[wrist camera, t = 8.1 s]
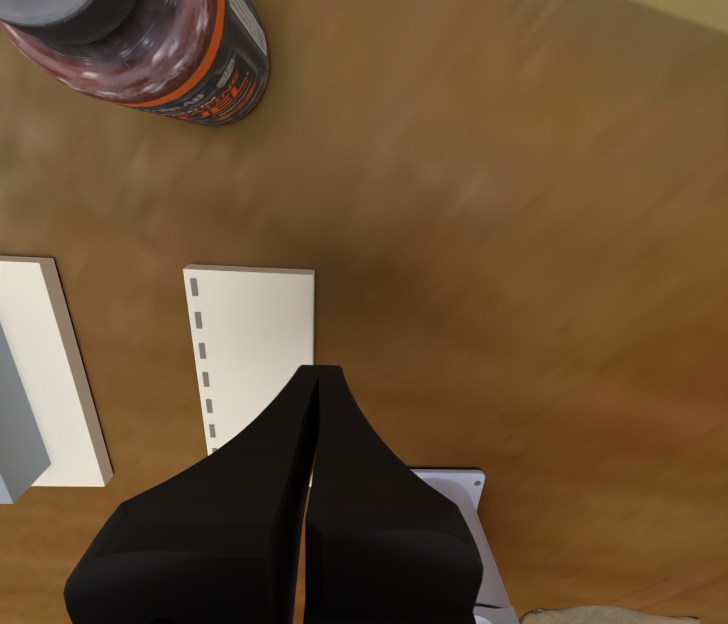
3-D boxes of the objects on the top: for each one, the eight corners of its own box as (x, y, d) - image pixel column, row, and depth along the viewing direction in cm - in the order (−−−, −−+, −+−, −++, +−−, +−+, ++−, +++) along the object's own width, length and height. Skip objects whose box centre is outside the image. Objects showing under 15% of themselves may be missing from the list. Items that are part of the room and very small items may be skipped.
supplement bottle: (199, 152, 18) (5, 143, 8) (111, 25, 16) (-319, -220, 6) (298, 85, 17) (227, -27, 7) (219, -60, 15) (-59, -538, 5)
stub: (113, 474, 26) (74, 526, 22) (40, 474, 26) (-12, 526, 22) (53, 257, 20) (-14, 280, 16) (-45, 253, 19) (-136, 275, 16)
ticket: (312, 475, 27) (311, 487, 26) (217, 474, 27) (211, 487, 26) (314, 270, 21) (313, 275, 20) (190, 264, 20) (182, 269, 19)
